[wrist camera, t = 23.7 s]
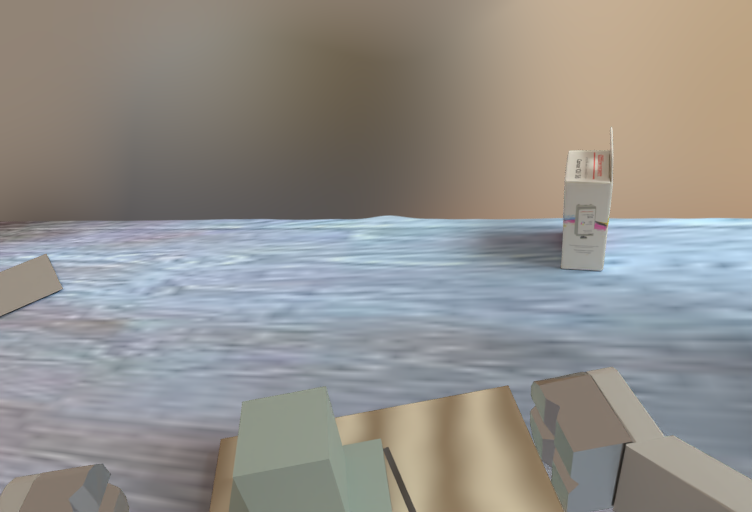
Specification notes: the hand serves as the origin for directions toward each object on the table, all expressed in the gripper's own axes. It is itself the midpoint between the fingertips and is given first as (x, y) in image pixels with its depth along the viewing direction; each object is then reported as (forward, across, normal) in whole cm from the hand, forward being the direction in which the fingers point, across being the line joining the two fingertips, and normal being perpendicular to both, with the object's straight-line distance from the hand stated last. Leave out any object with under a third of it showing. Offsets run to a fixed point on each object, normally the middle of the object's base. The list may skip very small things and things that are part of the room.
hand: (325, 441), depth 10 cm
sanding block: (+17, +6, +28) cm, 34 cm away
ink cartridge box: (+45, -28, +30) cm, 61 cm away
